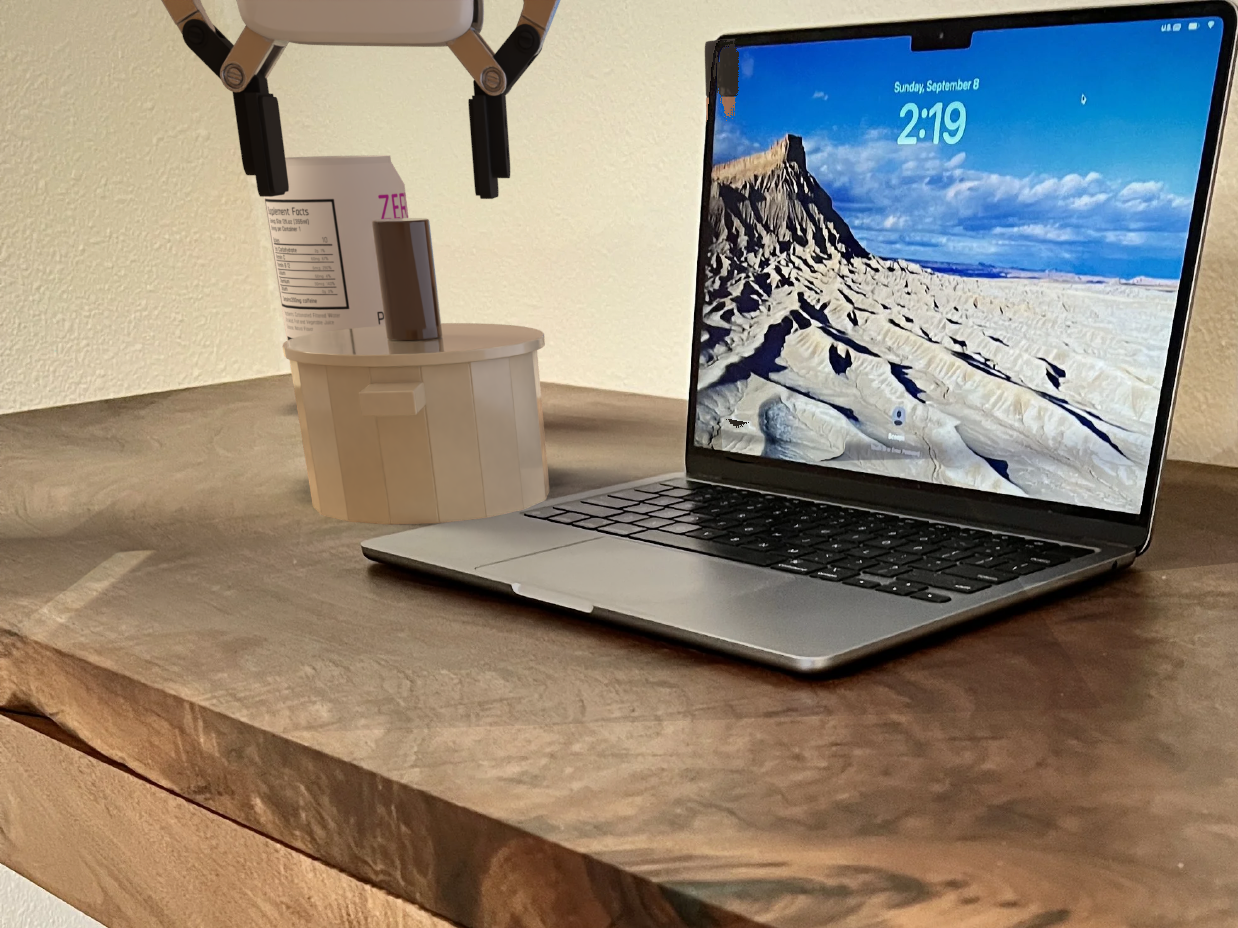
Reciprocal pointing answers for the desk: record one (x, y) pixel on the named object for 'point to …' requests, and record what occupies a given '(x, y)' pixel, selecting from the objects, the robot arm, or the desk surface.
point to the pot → (423, 440)
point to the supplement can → (332, 240)
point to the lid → (411, 315)
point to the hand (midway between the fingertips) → (381, 196)
